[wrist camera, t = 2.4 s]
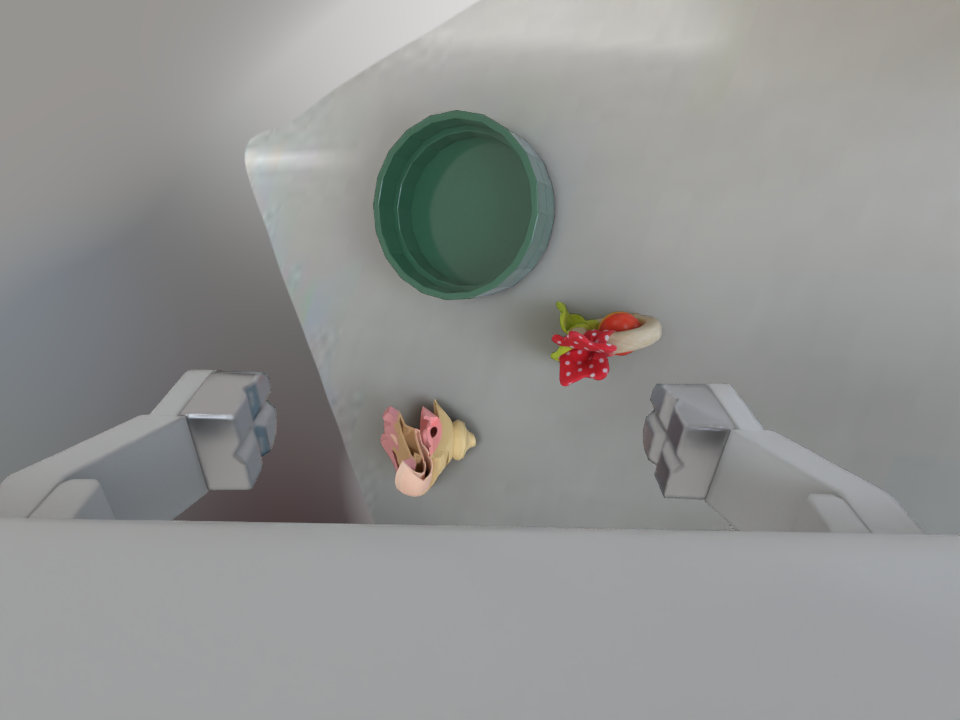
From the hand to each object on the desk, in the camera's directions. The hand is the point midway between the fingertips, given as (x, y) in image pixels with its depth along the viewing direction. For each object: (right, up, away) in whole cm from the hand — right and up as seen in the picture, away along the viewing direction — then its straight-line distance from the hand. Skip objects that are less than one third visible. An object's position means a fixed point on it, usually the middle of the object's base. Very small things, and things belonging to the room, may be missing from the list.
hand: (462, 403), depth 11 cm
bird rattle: (+12, +4, +36) cm, 38 cm away
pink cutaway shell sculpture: (-4, -8, +45) cm, 45 cm away
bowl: (0, +15, +39) cm, 41 cm away
